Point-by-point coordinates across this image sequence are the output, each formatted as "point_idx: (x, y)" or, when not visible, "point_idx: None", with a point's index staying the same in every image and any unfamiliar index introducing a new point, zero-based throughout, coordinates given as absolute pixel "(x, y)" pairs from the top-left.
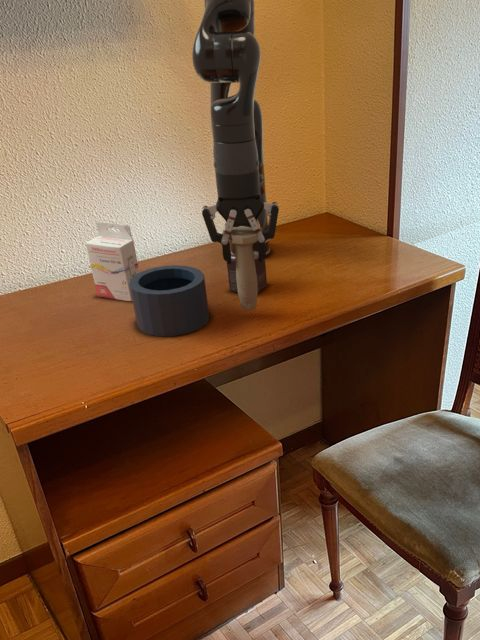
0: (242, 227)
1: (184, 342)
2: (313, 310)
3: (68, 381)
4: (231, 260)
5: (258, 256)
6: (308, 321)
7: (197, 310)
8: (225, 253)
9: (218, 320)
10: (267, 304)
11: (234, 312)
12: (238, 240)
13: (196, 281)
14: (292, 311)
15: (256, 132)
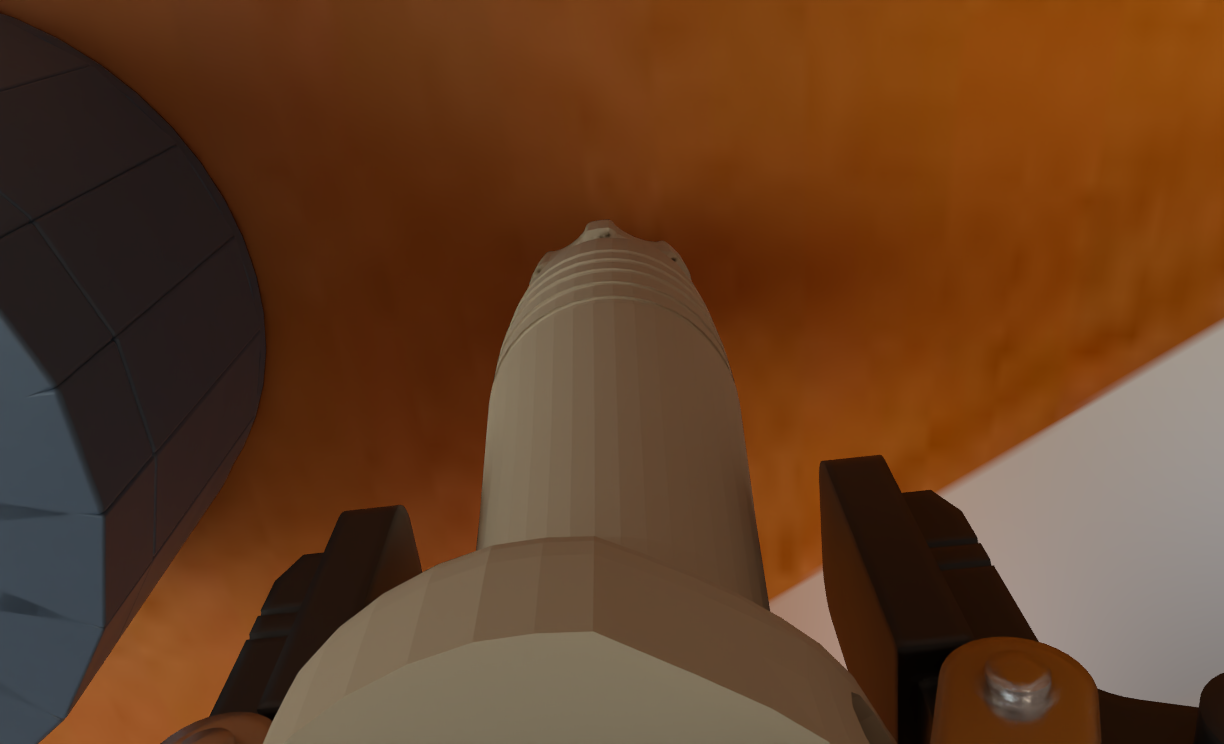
0: (593, 725)
1: (193, 639)
2: (1185, 160)
3: None
4: (409, 530)
5: (836, 588)
6: (1101, 367)
7: (180, 542)
8: None
9: (351, 324)
10: (761, 4)
11: (460, 174)
12: None
13: (46, 581)
14: (991, 174)
15: None
